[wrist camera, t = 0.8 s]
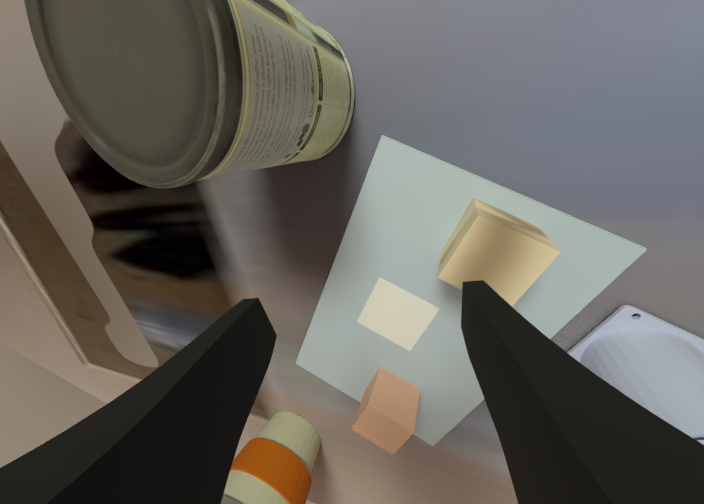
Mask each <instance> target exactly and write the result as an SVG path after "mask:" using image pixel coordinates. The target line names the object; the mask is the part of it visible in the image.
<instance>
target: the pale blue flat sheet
mask: <svg viewBox="0 0 704 504" xmlns="http://www.w3.org/2000/svg"><path fill="white" fill-rule="evenodd" d="M473 198H475V199H477V200H479V201H482V202H484V203H486V204H488V205H491V206H493V207H495V208H497V209H500V210H502V211H504V212H506V213H509V214H511V215H513V216H515V217H518V218H520V219H522V220H525V221H527V222H529V223H531V224H534V225H536V226H538V227H539V228H540V229H541V231H542V232H543V233H544V234H545V235H546V236H547V237H548V238H549V239H550V241H551V242H552V243H553V244H554V245H555V246H556V247H557V248H558V249H559V250H560V252H561V253H560V254H559V255H558V256H557V257H556V258H555V259H554V261H553V262H552V263H551V264H550V265H549V266H548V267H547V268H546V269H545V271H544V272H543V273H542V274H541V275H540V276H539V277H538V278H537V280H536V281H535V282H534V283H533V284H532V285H531V286H530V287H529V289H528V290H527V291H526V292H525V293H524V294H523V295H522V296H521V297H520V299H519V300H518V301H517V302H516V303H515V304H514V305H513V306H512V307H513V308H514V309H515V310H516V311H517V312H518V313H520V314H521V315H522V316H523V317H524V318H525V319H526V320H528V321H529V322H530V323H531V324H532V325H534V326H535V327H536V328H537V329H538V330H539V331H541V332H542V333H543V334H544V335H545V336H547V337H548V338H549V339H550V338H552V337H553V336H554V335H555V334H556V333H557V332H558V331H559V330H560V329H561V328H562V327H563V326H565V325H566V324H567V323H568V322H569V321H570V320H571V319H572V318H573V317H574V316H575V315H577V314H578V313H579V312H580V311H581V310H582V309H583V308H584V307H585V306H586V305H587V304H588V303H590V302H591V301H592V300H593V299H594V298H595V297H596V296H597V295H598V294H599V293H600V292H601V291H603V290H604V289H605V288H606V287H607V286H608V285H609V284H610V283H611V282H612V281H613V280H615V279H616V278H617V277H618V276H619V275H620V274H621V273H622V272H623V271H624V270H625V269H626V268H628V267H629V266H630V265H631V264H632V263H633V262H634V261H635V260H636V259H637V258H638V257H640V256H641V255H642V254H643V253H644V252H645V251H646V250H647V249H646V248H644V247H643V246H641V245H638V244H636V243H634V242H631V241H629V240H627V239H624V238H622V237H620V236H617V235H615V234H613V233H610V232H608V231H606V230H603V229H601V228H599V227H596V226H594V225H592V224H589V223H587V222H585V221H582V220H580V219H578V218H575V217H573V216H571V215H568V214H566V213H564V212H561V211H559V210H557V209H554V208H552V207H550V206H547V205H545V204H543V203H540V202H538V201H536V200H533V199H531V198H529V197H526V196H524V195H522V194H519V193H517V192H515V191H512V190H510V189H508V188H505V187H503V186H501V185H498V184H496V183H494V182H491V181H489V180H487V179H484V178H482V177H480V176H477V175H475V174H473V173H470V172H468V171H466V170H463V169H461V168H459V167H456V166H454V165H452V164H449V163H447V162H445V161H442V160H440V159H438V158H435V157H433V156H431V155H428V154H426V153H424V152H421V151H419V150H417V149H414V148H412V147H410V146H407V145H405V144H403V143H400V142H398V141H396V140H393V139H391V138H389V137H386V136H384V135H382V136H381V139H380V141H379V144H378V147H377V149H376V152H375V155H374V157H373V160H372V162H371V165H370V168H369V170H368V173H367V176H366V178H365V181H364V184H363V186H362V189H361V192H360V194H359V197H358V200H357V202H356V205H355V207H354V210H353V213H352V215H351V218H350V221H349V223H348V226H347V229H346V231H345V234H344V237H343V239H342V242H341V245H340V247H339V250H338V253H337V255H336V258H335V260H334V263H333V266H332V268H331V271H330V274H329V276H328V279H327V282H326V284H325V287H324V290H323V292H322V295H321V298H320V300H319V303H318V305H317V308H316V311H315V313H314V316H313V319H312V321H311V324H310V327H309V329H308V332H307V335H306V337H305V340H304V343H303V345H302V348H301V350H300V353H299V356H298V358H297V361H296V364H297V365H299V366H301V367H302V368H304V369H306V370H307V371H309V372H311V373H312V374H314V375H316V376H317V377H319V378H321V379H322V380H324V381H325V382H327V383H329V384H330V385H332V386H334V387H335V388H337V389H339V390H340V391H342V392H344V393H345V394H347V395H349V396H350V397H352V398H354V399H355V400H357V401H359V402H360V403H361V400H362V397H363V394H364V391H365V389H366V388H367V386H368V385H369V383H370V382H371V380H372V379H373V377H374V376H375V374H376V372H377V371H378V369H379V368H380V367H382V368H383V369H385V370H387V371H388V372H390V373H392V374H394V375H395V376H397V377H399V378H401V379H402V380H404V381H406V382H408V383H409V384H411V385H413V386H415V387H416V388H418V389H420V393H419V400H418V408H417V415H416V422H415V429H414V433H413V435H415V436H416V437H418V438H420V439H421V440H423V441H425V442H426V443H428V444H430V445H431V446H434V445H435V444H436V443H437V442H439V441H440V440H441V439H442V438H443V437H444V436H445V435H446V434H447V433H448V432H449V431H450V430H452V429H453V428H454V427H455V426H456V425H457V424H458V423H459V422H460V421H461V420H462V419H464V418H465V417H466V416H467V415H468V414H469V413H470V412H471V411H472V410H473V409H474V408H475V407H477V406H478V405H479V404H480V403H481V402H482V401H483V400H484V396H483V393H482V391H481V388H480V385H479V383H478V380H477V378H476V375H475V372H474V370H473V367H472V364H471V362H470V359H469V356H468V352H467V349H466V345H465V341H464V337H463V333H462V329H461V310H462V290H461V289H459V288H457V287H455V286H453V285H451V284H449V283H447V282H445V281H443V280H441V279H440V278H438V272H439V264H440V256H441V250H442V248H443V247H444V245H445V243H446V242H447V240H448V239H449V237H450V235H451V234H452V232H453V230H454V229H455V227H456V226H457V224H458V222H459V221H460V219H461V217H462V216H463V214H464V213H465V211H466V209H467V208H468V206H469V204H470V203H471V201H472V200H473Z"/></svg>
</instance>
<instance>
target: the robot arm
mask: <svg viewBox="0 0 704 504" xmlns="http://www.w3.org/2000/svg"><path fill="white" fill-rule="evenodd" d="M633 314H637V315H636V316H632V315H633ZM461 329H462V333H463V337H464V341H465V345H466V349H467V352H468V356H469V359H470V362H471V364H472V367H473V370H474V372H475V375H476V378H477V380H478V383H479V385H480V388H481V391H482V393H483V396H484V399H485V401H486V404H487V406H488V409H489V412H490V414H491V417H492V420H493V422H494V425H495V427H496V430H497V433H498V436H499V439H500V442H501V445H502V448H503V451H504V455H505V458H506V462H507V465H508V468H509V472H510V475H511V479H512V482H513V486H514V489H515V493H516V497H517V500H518V504H704V339H702V338H700V337H698V336H696V335H694V334H692V333H689V332H687V331H685V330H683V329H681V328H679V327H676V326H674V325H672V324H670V323H668V322H666V321H663V320H661V319H659V318H657V317H655V316H653V315H651V314H648V313H646V312H644V311H642V310H640V309H638V308H635V307H633V306H630V305H624V306H621V307H620V308H619V309H617V310H616V311H615V312H614V313H613V314H611V315H610V316H609V317H608V318H607V319H606V320H604V321H603V322H602V323H601V324H600V325H598V326H597V327H596V328H595V329H594V330H593V331H591V332H590V333H589V334H588V335H587V336H585V337H584V338H583V339H582V340H581V341H580V342H578V343H577V344H576V345H575V346H574V347H572V348H571V349H570V350H569V351H568V352H565V351H564V350H563V349H562V348H560V347H559V346H558V345H556V344H555V343H554V342H553V341H552V340H550V339H549V338H548V337H547V336H545V335H544V334H543V333H542V332H541V331H539V330H538V329H537V328H536V327H535V326H534V325H532V324H531V323H530V322H529V321H528V320H526V319H525V318H524V317H523V316H522V315H521V314H520V313H518V312H517V311H516V310H515V309H514V308H513V307H512V306H511V305H510V304H508V303H507V302H506V301H505V300H504V299H503V298H502V297H501V296H500V295H499V294H498V293H497V292H495V291H494V290H493V289H492V288H491V287H490V286H489V285H488V284H487V283H486V282H485V281H483V280H478V281H466V282H463V285H462V310H461ZM276 336H277V335H276V333H275V331H274V329H273V327H272V325H271V323H270V321H269V319H268V317H267V315H266V313H265V311H264V309H263V306H262V304H261V302H260V300H259V298H253V299H243V300H242V301H241V302H239V303H238V304H237V305H235V306H234V307H233V308H231V309H230V310H229V311H228V312H227V313H225V314H224V315H223V316H222V317H221V318H219V319H218V320H217V321H216V322H215V323H213V324H212V325H211V326H210V327H209V328H207V329H206V330H205V331H204V332H203V333H201V334H200V335H199V336H198V337H197V338H195V339H194V340H193V341H192V342H191V343H189V344H188V345H187V346H186V347H184V348H183V349H182V350H181V351H179V352H178V353H177V354H176V355H174V356H173V357H172V358H170V359H169V360H168V361H167V362H165V363H164V364H163V365H162V366H160V367H159V368H158V369H156V370H155V371H154V372H152V373H151V374H150V375H148V376H147V377H146V378H144V379H143V380H142V381H140V382H139V383H137V384H136V385H135V386H133V387H132V388H130V389H129V390H127V391H126V392H124V393H123V394H122V395H120V396H119V397H117V398H116V399H114V400H113V401H111V402H110V403H108V404H107V405H105V406H104V407H102V408H100V409H99V410H98V411H96V412H94V413H93V414H91V415H89V416H88V417H86V418H85V419H83V420H82V421H80V422H78V423H77V424H75V425H74V426H72V427H70V428H69V429H67V430H66V431H64V432H62V433H61V434H59V435H57V436H56V437H54V438H52V439H51V440H49V441H47V442H45V443H44V444H42V445H40V446H39V447H37V448H35V449H34V450H32V451H30V452H28V453H26V454H25V455H23V456H21V457H19V458H18V459H16V460H14V461H12V462H11V463H9V464H7V465H5V466H3V467H2V468H0V504H221V501H222V497H223V494H224V490H225V486H226V483H227V479H228V476H229V472H230V469H231V466H232V462H233V459H234V456H235V452H236V449H237V446H238V443H239V440H240V437H241V434H242V431H243V429H244V426H245V423H246V421H247V418H248V416H249V413H250V411H251V408H252V406H253V403H254V401H255V399H256V396H257V394H258V391H259V389H260V386H261V384H262V381H263V379H264V376H265V374H266V371H267V368H268V366H269V363H270V360H271V356H272V353H273V349H274V345H275V341H276Z"/></svg>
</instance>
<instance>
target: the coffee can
mask: <svg viewBox="0 0 704 504" xmlns="http://www.w3.org/2000/svg"><path fill="white" fill-rule="evenodd" d="M24 1H25V7H26V10H27V15H28V20H29V24H30V28H31V32H32V35H33V39H34V42H35V45H36V48H37V51H38V54H39V56H40V59H41V62H42V64H43V67H44V69H45V72H46V75H47V77H48V79H49V81H50V83H51V85H52V87H53V89H54V91H55V93H56V96H57V98H58V99H59V101H60V103H61V105H62V106H63V108H64V110H65V111H66V113H67V115H68V117H69V118H70V120H71V121H72V123H73V124H74V125H75V127H76V128H77V129H78V131H79V132H80V134H81V135H82V136H83V137H84V139H85V140H86V141H87V142H88V144H89V145H90V146H91V147H92V148H93V150H94V151H95V152H96V153H97V154H98V155H99V156H100V157H101V158H102V159H104V160H105V161H106V162H107V163H108V164H109V165H110V166H112V167H113V168H114V169H115V170H117V171H118V172H119V173H121V174H122V175H124V176H125V177H127V178H129V179H131V180H133V181H135V182H137V183H139V184H142V185H145V186H149V187H153V188H175V187H180V186H184V185H187V184H190V183H193V182H195V181H197V180H203V179H208V178H213V177H219V176H224V175H230V174H236V173H241V172H247V171H252V170H258V169H263V168H269V167H274V166H279V165H285V164H290V163H295V162H301V161H312V160H316V159H319V158H321V157H323V156H325V155H326V154H328V153H329V152H331V151H332V150H333V149H334V148H335V147H336V146H337V145H338V144H339V143H340V141H341V140H342V138H343V136H344V135H345V133H346V131H347V129H348V127H349V124H350V122H351V118H352V114H353V109H354V97H355V90H354V81H353V76H352V71H351V68H350V65H349V62H348V60H347V57H346V55H345V53H344V52H343V50H342V48H341V47H340V45H339V44H338V43H337V41H336V40H335V39H334V38H333V37H332V36H331V35H330V34H329V33H328V32H326V31H325V30H323V29H322V28H321V27H318V26H316V25H315V24H314V23H312V22H311V21H310V20H309V19H308V18H307V17H305V16H304V15H303V14H301V13H300V12H299V11H298V10H296V9H295V8H294V7H292V6H291V5H290V4H288V3H287V2H286V1H285V0H24Z"/></svg>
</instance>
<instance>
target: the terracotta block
mask: <svg viewBox="0 0 704 504" xmlns="http://www.w3.org/2000/svg"><path fill="white" fill-rule="evenodd" d="M419 393H420V389H418V388H416V387H415V386H413V385H411V384H409V383H408V382H406V381H404V380H402V379H401V378H399V377H397V376H395V375H394V374H392V373H390V372H388V371H387V370H385V369H383V368H382V367H380V368H379V369H378V371H377V372H376V374H375V376H374V377H373V379H372V380H371V382H370V383H369V385H368V386H367V388H366V389H365V391H364V394H363V397H362V400H361V403H360V405H359V408H358V411H357V414H356V417H355V420H354V422H353V425H352V428H351V429H352V430H353V431H355V432H357V433H358V434H360V435H361V436H363V437H365V438H366V439H368V440H369V441H371V442H373V443H374V444H376V445H377V446H379V447H381V448H382V449H384V450H385V451H387V452H389V453H390V454H392V455H393V454H394V453H395V452H396V451H397V450H398V449H399V448H400V447H401V446H402V445H403V444H404V443H405V442H406V441H407V440H408V439H409V438H410V437H411V436H412V434H413V433H414V429H415V422H416V415H417V408H418V400H419Z"/></svg>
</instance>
